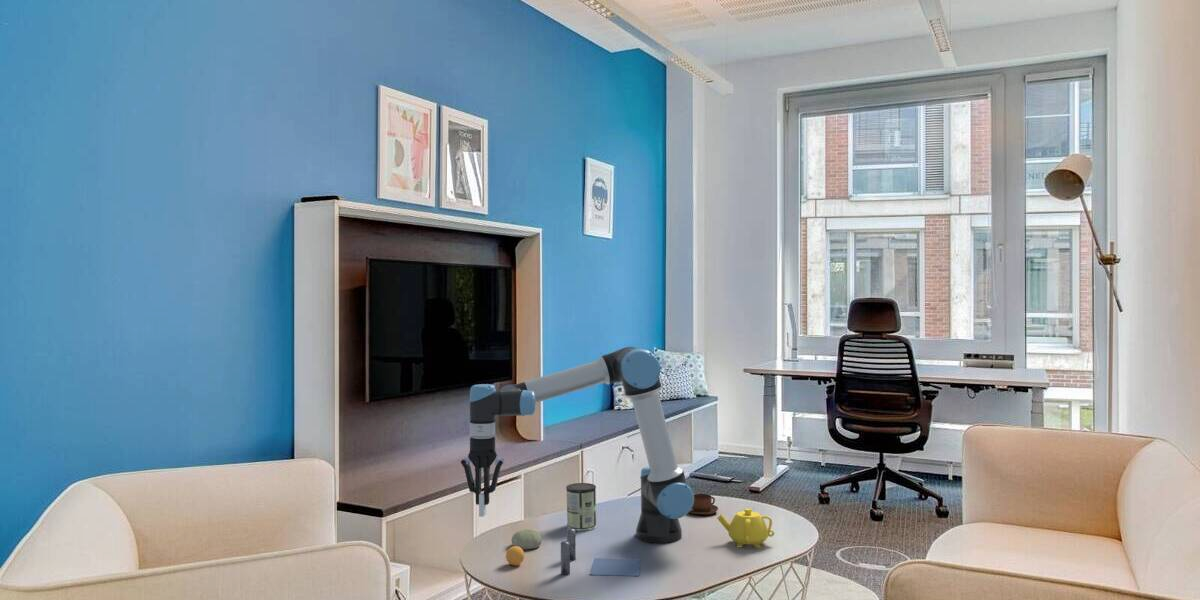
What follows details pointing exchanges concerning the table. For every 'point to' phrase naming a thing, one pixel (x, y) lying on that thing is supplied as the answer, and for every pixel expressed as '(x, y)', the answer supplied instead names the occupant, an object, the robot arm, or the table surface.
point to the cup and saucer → (703, 505)
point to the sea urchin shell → (526, 539)
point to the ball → (515, 555)
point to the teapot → (748, 527)
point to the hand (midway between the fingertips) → (482, 515)
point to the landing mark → (615, 567)
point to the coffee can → (581, 506)
